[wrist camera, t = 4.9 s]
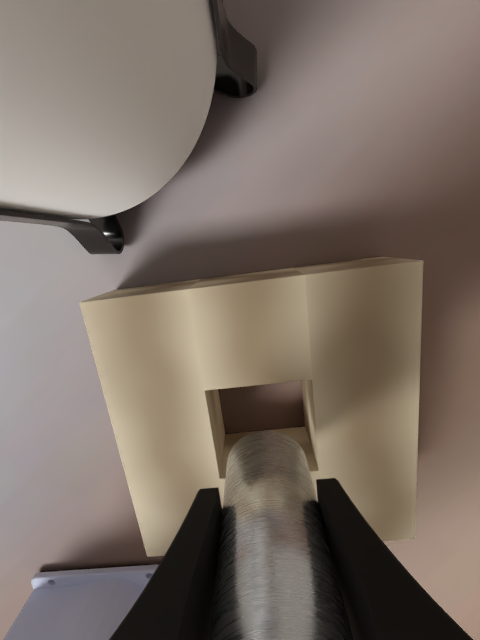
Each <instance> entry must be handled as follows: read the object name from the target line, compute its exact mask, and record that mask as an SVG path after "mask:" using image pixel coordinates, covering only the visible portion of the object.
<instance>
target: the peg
mask: <svg viewBox="0 0 480 640" xmlns="http://www.w3.org/2000/svg"><path fill="white" fill-rule="evenodd" d="M210 640H354V638H353V634H352V631H351V627H350V623H349V619H348V615H347V612H346V608H345V604H344V600H343V596H342V593H341V589H340V585H339V581H338V577H337V574H336V570H335V566H334V562H333V558H332V555H331V551H330V547H329V543H328V539H327V536H326V532H325V528H324V524H323V521H322V517H321V513H320V509H319V505H318V501H317V498H316V494H315V490H314V486H313V482H312V479H311V475H310V471H309V467H308V463H307V460H306V456H305V453H304V451H303V449H302V448H301V446H300V445H299V444H298V443H297V442H296V441H295V440H294V439H292V438H291V437H289V436H287V435H285V434H283V433H279V432H275V431H259V432H254V433H251V434H249V435H246V436H244V437H243V438H241V439H240V440H239V441H237V442H236V443H235V444H234V446H233V447H232V449H231V450H230V452H229V455H228V459H227V467H226V478H225V488H224V498H223V508H222V519H221V529H220V539H219V549H218V559H217V570H216V580H215V590H214V600H213V611H212V621H211V631H210Z"/></svg>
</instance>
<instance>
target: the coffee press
mask: <svg viewBox="0 0 480 640" xmlns="http://www.w3.org/2000/svg"><path fill="white" fill-rule="evenodd" d="M215 21H216V22H215ZM216 27H217V33H218V39H219V45H220V50H221V54H222V57H221V56H219V55H217V35H216ZM256 90H257V50H256V48H255V46H254V45H253V44H252V43H250V42H249V41H248V40H247V39H246V38H244V37H243V36H242V35H241V34H240V33H238V32H237V31H236V30H235V29H234V28H233V26H232V25H231V24H230V23H229V21H228V19H227V17H226V14H225V9H224V4H223V0H0V221H11V222H22V223H32V224H43V225H51V226H58V227H62V228H64V229H66V230H67V231H69V232H70V233H71V234H72V235H73V236H74V237H75V238H76V239H77V240H78V241H79V242H80V243H81V245H82V246H83V247H84V248H85V249H86V250H87V251H88V252H89V253H90V254H120V253H121V252H122V251H123V248H124V236H123V231H122V228H121V226H120V224H119V222H118V220H117V218H116V216H115V214H117V213H120V212H122V211H125V210H128V209H130V208H132V207H134V206H136V205H138V204H140V203H142V202H143V201H145V200H147V199H148V198H150V197H151V196H152V195H154V194H155V193H156V192H158V191H159V190H160V189H161V188H162V187H164V186H165V185H166V184H167V183H168V182H169V181H170V180H171V179H172V178H173V177H174V175H175V174H176V173H177V172H178V171H179V169H180V168H181V167H182V166H183V164H184V163H185V161H186V160H187V158H188V157H189V155H190V153H191V152H192V150H193V148H194V146H195V145H196V143H197V141H198V138H199V136H200V134H201V132H202V129H203V127H204V124H205V121H206V118H207V115H208V112H209V108H210V104H211V100H212V96H213V91H215V92H218V93H220V94H223V95H225V96H228V97H232V98H244V97H248V96H251V95H252V94H254V93H255V92H256ZM72 219H89V221H90V222H91V223H89V222H84V221H78V220H72Z"/></svg>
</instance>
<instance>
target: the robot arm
mask: <svg viewBox="0 0 480 640" xmlns="http://www.w3.org/2000/svg"><path fill="white" fill-rule="evenodd" d="M316 485H317V498H318V505H319V509H320V513H321V517H322V521H323V524H324V528H325V532H326V536H327V539H328V543H329V547H330V551H331V555H332V558H333V562H334V566H335V570H336V574H337V577H338V581H339V585H340V589H341V593H342V596H343V600H344V604H345V608H346V612H347V615H348V619H349V623H350V627H351V631H352V634H353V638H354V640H473V639H472V638H471V637H470V636H469V635H468V634H467V633H466V632H465V631H464V630H463V629H462V628H461V627H460V626H459V625H458V624H457V623H456V622H455V621H454V620H453V619H452V618H451V617H450V616H449V615H448V614H447V613H446V612H445V611H444V610H443V609H442V608H441V607H440V606H439V605H438V604H437V603H436V602H435V601H434V600H433V599H432V598H431V596H430V595H429V594H428V593H427V592H426V591H425V590H424V589H423V588H422V587H421V586H420V584H419V583H418V582H417V581H416V580H415V579H414V578H413V577H412V576H411V574H410V573H409V572H408V571H407V570H406V569H405V568H404V566H403V565H402V564H401V563H400V562H399V561H398V560H397V558H396V557H395V556H394V555H393V554H392V552H391V551H390V550H389V549H388V548H387V546H386V545H385V544H384V543H383V541H382V540H381V539H380V538H379V536H378V535H377V534H376V533H375V531H374V530H373V529H372V528H371V526H370V525H369V524H368V522H367V521H366V520H365V518H364V517H363V516H362V514H361V513H360V512H359V510H358V509H357V508H356V506H355V505H354V503H353V502H352V501H351V499H350V498H349V496H348V495H347V493H346V492H345V490H344V489H343V487H342V486H341V484H340V482H339V481H338V480H337V479H336V478H328V479H316ZM221 519H222V506H221V500H220V494H219V488H218V487H216V488H204V489H200V490H199V491H198V492H197V494H196V497H195V499H194V501H193V503H192V505H191V507H190V509H189V511H188V513H187V515H186V517H185V519H184V521H183V523H182V525H181V527H180V529H179V530H178V532H177V534H176V536H175V538H174V539H173V541H172V543H171V545H170V547H169V548H168V550H167V552H166V554H165V555H164V557H163V559H162V561H161V562H160V564H159V565H143V566H128V567H113V568H98V569H83V570H68V571H53V572H39V573H36V574H35V575H34V577H33V578H32V580H31V583H32V586H33V588H34V591H33V592H32V594H31V595H30V597H29V599H28V600H27V602H26V604H25V605H24V607H23V608H22V610H21V612H20V613H19V615H18V616H17V618H16V620H15V621H14V623H13V625H12V626H11V628H10V629H9V631H8V633H7V634H6V636H5V637H4V639H3V640H210V631H211V621H212V611H213V600H214V590H215V580H216V570H217V559H218V549H219V539H220V529H221Z"/></svg>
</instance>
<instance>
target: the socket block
mask: <svg viewBox="0 0 480 640" xmlns="http://www.w3.org/2000/svg"><path fill="white" fill-rule="evenodd" d="M422 288H423V260H414V259H404V258H394V257H384V256H383V257H375V258H367V259H359V260H351V261H343V262H335V263H327V264H319V265H311V266H303V267H294V268H286V269H278V270H270V271H262V272H254V273H246V274H238V275H230V276H222V277H214V278H206V279H198V280H190V281H181V282H173V283H165V284H157V285H149V286H141V287H133V288H125V289H117V290H113V291H111V292H108V293H105V294H102V295H99V296H96V297H93V298H91V299H88V300H85V301H82V302H79V303H80V307H81V311H82V314H83V318H84V322H85V326H86V329H87V333H88V337H89V341H90V344H91V348H92V352H93V356H94V359H95V363H96V367H97V371H98V374H99V378H100V382H101V386H102V389H103V393H104V397H105V401H106V404H107V408H108V412H109V415H110V419H111V423H112V427H113V430H114V434H115V438H116V442H117V445H118V449H119V453H120V457H121V460H122V464H123V468H124V472H125V475H126V479H127V483H128V487H129V490H130V494H131V498H132V502H133V505H134V509H135V513H136V517H137V520H138V524H139V528H140V531H141V535H142V539H143V543H144V546H145V550H146V554H147V557H153V556H164V555H165V554H166V552H167V550H168V548H169V547H170V545H171V543H172V541H173V539H174V538H175V536H176V534H177V532H178V530H179V529H180V527H181V525H182V523H183V521H184V519H185V517H186V515H187V513H188V511H189V509H190V507H191V505H192V503H193V501H194V499H195V497H196V494H197V492H198V491H199V490H200V489H204V488H216V487H218V488H219V494H220V500H221V506H222V508H223V498H224V488H225V478H226V467H227V459H228V455H229V452H230V450H231V449H232V447H233V446H234V444H235V443H236V442H237V441H239V440H240V439H241V438H243V437H244V436H246V435H249V434H251V433H254V432H259V431H253V432H242V433H231V434H225V429H224V423H223V417H222V410H221V404H220V398H219V392H218V389H225V388H235V387H245V386H255V385H264V384H274V383H284V382H294V381H301V382H302V394H303V407H304V419H305V427H296V428H285V429H274V430H263V431H275V432H279V433H283V434H285V435H287V436H289V437H291V438H292V439H294V440H295V441H296V442H297V443H298V444H299V445H300V446H301V448H302V449H303V451H304V453H305V456H306V460H307V463H308V467H309V471H310V475H311V479H312V482H313V486H314V490H315V494H316V498H317V485H316V479H328V478H336V479H337V480H338V481H339V482H340V484H341V486H342V487H343V489H344V490H345V492H346V493H347V495H348V496H349V498H350V499H351V501H352V502H353V503H354V505H355V506H356V508H357V509H358V510H359V512H360V513H361V514H362V516H363V517H364V518H365V520H366V521H367V522H368V524H369V525H370V526H371V528H372V529H373V530H374V531H375V533H376V534H377V535H378V536H379V538H380V539H381V540H382V541H387V540H401V539H415V523H416V490H417V456H418V422H419V389H420V355H421V322H422ZM317 501H318V498H317Z"/></svg>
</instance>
